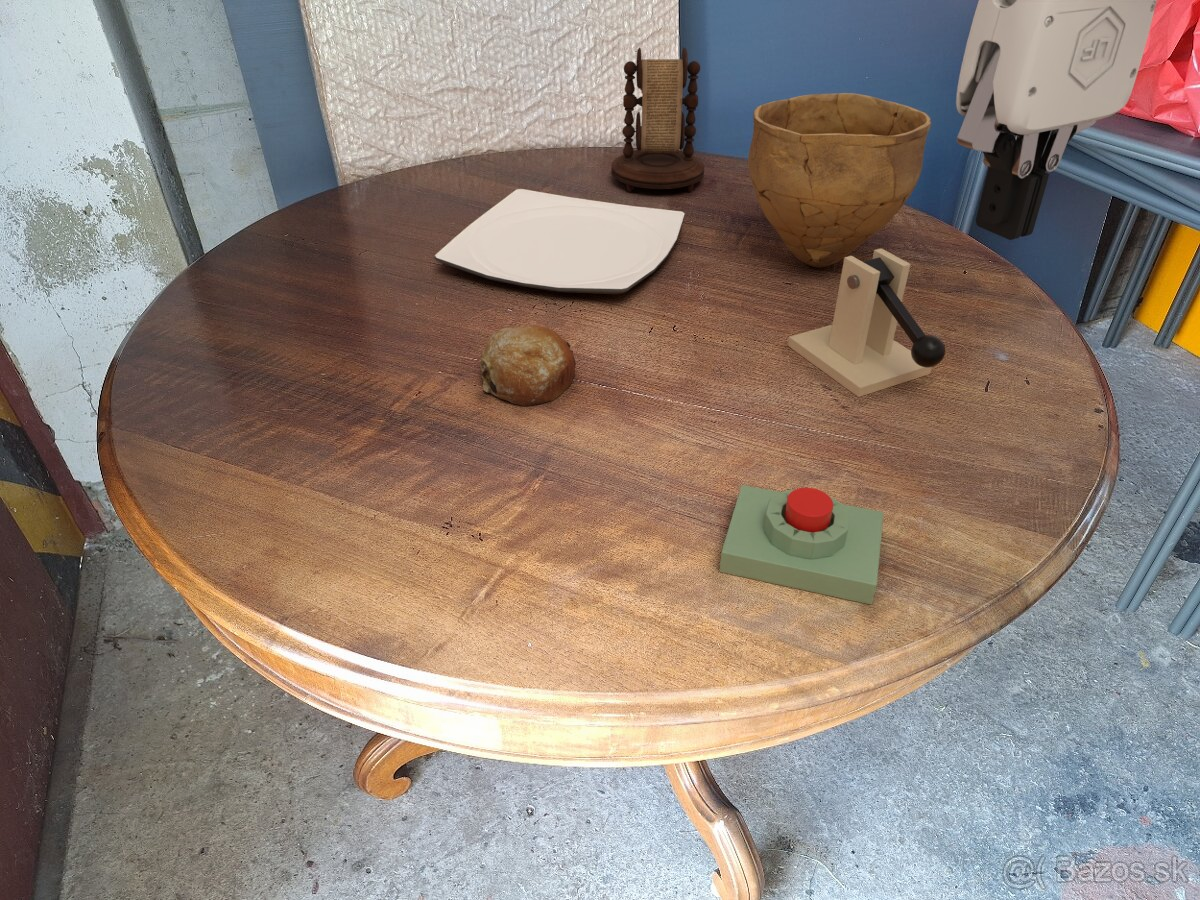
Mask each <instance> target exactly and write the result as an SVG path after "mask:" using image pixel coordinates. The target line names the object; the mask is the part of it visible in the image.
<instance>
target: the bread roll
mask: <svg viewBox="0 0 1200 900" xmlns="http://www.w3.org/2000/svg"><path fill="white" fill-rule="evenodd" d="M573 353H574V351H573V350H572V349H571V344H570V343H569V342H568V341H567V340H565V339H564V338H563V337H562V336H561V335H560V334H559V333H557V331H554V330H553V329H551V328H549V327H547V326H539V325H529V326H519V327H504V328H501V329H499V330H498V331H496V332H494V333H493V334H492V335H491V336H490V337H489V338H488V339H487V342H486V344H485V346H484V348H483V349H482V352H481V354H480V362H479V363H480V364H479V365H480V366H479V367H480V376H481V377H480V379H481V380H483V381H482V390H483V391H484V392H486V393H489V394H491V395H493V396H495V397H497V399H501V400H503V401H507V402H509V403H511V404H514V405H517V406H521V407H523V406H524V407H525V406H526V407H527V406H535V405H541V404H545V403H548V402H551V401H554V400H556V399H557V398H558V397H559V396H560V395H562V394H564V393H565V391H566V390H568V388H570V386H571V385H572V383H573V380H574V378H575V376H576V365H577V363H576V359H575V356H574V354H573Z"/></svg>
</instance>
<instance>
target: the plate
mask: <svg viewBox="0 0 1200 900" xmlns="http://www.w3.org/2000/svg"><path fill="white" fill-rule="evenodd" d="M685 217H686V213H685V212H683V211H680V210H671V209H663V208H654V207H645V206H636V205H627V204H620V203H614V202H606V201H598V200H593V199H592V200H591V199H585V198H580V197H579V198H578V197H571V196H566V195H560V194H554V193H547V192H542V191H535V190H530V189H524V188H518V189H515V190H514V191H512V192H511V193H510V194H508V195H507V196H506V197H505V198H503V199H502V200H500V201H499V202H498V203H497V204H495V205H494V206H492V207H490V209H488V210H487V211H486V212H484V213H483V214H482V215H480V216H479V217H478V218H477V219H475V220H474V221H473V222H471V223H470V224H469V225H467V226H466V227H465V228H464V229H463V230H461V232H460V233H458V234H457V235H456V236H455V237H454V238H452V239H451V240H450V241H449V242H448V243H447V244H446V245H445V246H444V247H442V248H441V249H440V250H439V251H438V252H437V253H436V254H435V255H434V259H435V261H437V262H439V263H441V264H443V265H445V266H449V267H452V268H454V269H457V270H460V271H463V272H466V273H469V274H471V275H474V276H477V277H481V278H484V279H486V280H490V281H495V282H500V283H505V284H509V285H513V286H520V287H524V288H531V289H536V290H537V289H538V290H543V291H551V292H557V293H574V294H575V293H576V294H600V295H601V294H603V295H620V294H624V293H626V292H628V291H630V289H632V288H633V287H635V286H636V285H638V284H639V283H641V282H642V281H643V280H644V279H646V278H647V277H649V276H650V275H652V274H653V273H654V272H655V271H656V270H657V269H658V268H659V267H660V266H661V265H662V263H664V261H666V260H667V258H668V257H669V255H670V253H671V252H672V250H673V249H674V247H675V246H676V244H677V242H678V239H679V235H680V232H681V229H682V226H683V224H684V220H685Z"/></svg>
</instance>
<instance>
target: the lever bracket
mask: <svg viewBox="0 0 1200 900" xmlns="http://www.w3.org/2000/svg"><path fill="white" fill-rule="evenodd" d="M879 257H880V258H881V259H882V260H883V262H884V263H885V265H886V266H887V267H888V269H889V270H890V271H891V273H892V274H893V275H894V278H893V280H892V281H891V283H890V284H889V286H890V287H891V288H892V290H893V291H894V292H895V294H896V295H897V297H898V298H899V299H900V301H901V302H902V303H903V300H904V296H905V291H906V286H907V281H908V277H909V273H910V268H911V263H909V262H908V261H906V260H904V259H903V258H901V257H899V256H897V255H894V254H893V253H891V252H889V251H887V250H885V249H884V248H882V247H881V248H877V249H874V250H873V255H872V259H875V258H879ZM879 276H880V271H878V270H876V269H874V268H872V267H871V266H869V265H867V264H865V263H864V261H862V260H860V259H859V258H856V257H855V256H853V255H847V256H846V257H844V258H843V265H842V269H841V274H840V280H839V285H838V292H837V298H836V302H835V309H834V313H833V320H832V324H829V325H825V326H822V327H818V328H815V329H811V330H807V331H804V332H801V333H796V334H793V335H790V336H788V342H787V347H789V348H790V349H792V350H793V351H794V352H795V353H797V354H798V355H799V356H800V357H802V358H804V359H805V360H806V361H808V362H810V363H811V364H812V365H814V366H815V367H816V368H817V369H819V370H820V371H822V372H823V373H824V374H826V375H827V376H829V377H830V378H831V379H832V380H834V381H835V382H836V383H838V384H839V385H841V386H842V387H844V388H845V389H846V390H848V391H849V392H850V393H852V394H853V395H855V396H856V397H857V398H860V397H863V396H866V395H869V394H872V393H876V392H879V391H882V390H884V389H888V388H891V387H894V386H897V385H900V384H904V383H906V382H910V381H913V380H916V379H919V378H922V377H925V376H928V375H931V372H932V369H933V367H922V366H919V365H918V364H916V363H915V362H914V360H913V358H912V356H911V349H909V348H907V347H905V346H904V345H902V344H901V343H899V342H898V341H896V340H894V339H895V334H896V330H897V326H898V322H897V320H896V319H895V318H894V316H893V315H892V313H891V312H890V311H889V309H888V308H887V306H886V305H885V304H884V302H883V301H882V299H881V298H880V297H879V295H878V294H876V291H877V286H878V281H879Z"/></svg>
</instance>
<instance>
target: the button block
mask: <svg viewBox="0 0 1200 900" xmlns="http://www.w3.org/2000/svg"><path fill="white" fill-rule="evenodd" d="M796 489H797V488H794V489H788V490H783V491H778V490H777V491H776V490H772V489H766V488H761V487H756V486H750V485H745V484H741V486H740V489H739V492H738V495H737V497H736V498H737V499H736V501H735V505H734V509H733V511H732V515H731V518H730V521H729V524H728V529H727V532H726V536H725V539H724V541H723V545H722V549H721V552H720V561H719V570H718V571H719V572H720V573H723V574H727V575H733V576H737V577H741V578H746V579H750V580H755V581H759V582H765V583H769V584H773V585H778V586H783V587H788V588H793V589H797V590H800V591H801V590H802V591H807V592H811V593H814V594H815V593H816V594H820V595H825V596H829V597H834V598H838V599H842V600H848V601H852V602H856V603H861V604H867V605H870V606H871V605H872V604H873V602H874V598H875V595H876V591H877V587H878V579H879V570H880V569H879V568H880V567H879V566H880V556H881V544H882V535H883V523H884V514H885V513H884V511H881V510H877V509H876V510H875V509H870V508H866V507H860V506H855V505H850V504H845V503H842V502H840V501H839V500H837V499H836V498H834V497H832V496H830V495H828V496H829V497H830V498H831V499H832V501H833V510H832V515H831V520H830V524H829V526H828V527H827V528H826V529H825V530H823V531H820V532H813V533H811V532H806V531H801V530H797V529H796V528H794V527H792V526H791V525H789V524H788V523H787V521H786V519H785V509H786V503H787V498H788V495H789V494H790V493H791V492H792V491H794V490H796Z"/></svg>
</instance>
